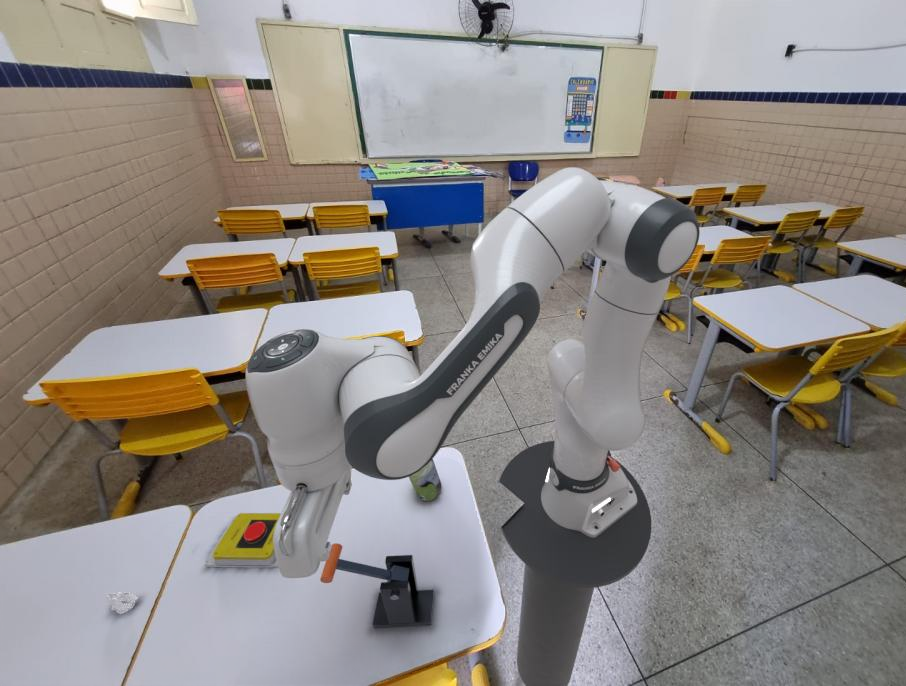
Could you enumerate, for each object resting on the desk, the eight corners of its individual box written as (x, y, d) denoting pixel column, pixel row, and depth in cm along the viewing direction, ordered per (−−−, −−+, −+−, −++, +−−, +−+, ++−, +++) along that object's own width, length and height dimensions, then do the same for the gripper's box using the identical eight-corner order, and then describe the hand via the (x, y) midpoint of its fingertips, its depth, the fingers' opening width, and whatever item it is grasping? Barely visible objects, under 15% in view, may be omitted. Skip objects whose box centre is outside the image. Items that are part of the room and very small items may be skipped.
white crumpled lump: (143, 601, 68) (133, 590, 67) (135, 613, 67) (125, 602, 65) (114, 602, 68) (104, 591, 66) (105, 614, 67) (94, 604, 65)
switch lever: (318, 582, 58) (322, 575, 57) (329, 549, 62) (333, 541, 61) (400, 599, 61) (406, 592, 60) (405, 566, 66) (410, 559, 65)
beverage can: (447, 491, 89) (444, 455, 83) (421, 512, 84) (416, 476, 78) (430, 474, 93) (426, 440, 87) (405, 494, 88) (399, 459, 82)
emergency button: (275, 555, 72) (195, 554, 71) (281, 567, 74) (203, 567, 74) (297, 508, 80) (226, 508, 80) (302, 521, 82) (232, 520, 82)
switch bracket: (372, 632, 65) (360, 593, 59) (380, 592, 70) (370, 553, 64) (431, 628, 66) (425, 590, 59) (434, 589, 71) (429, 550, 65)
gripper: (309, 535, 38) (334, 604, 45) (361, 396, 56) (374, 461, 63) (243, 538, 38) (279, 607, 44) (317, 397, 55) (335, 462, 62)
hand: (335, 520), depth 54 cm, fingers open, 8 cm apart
